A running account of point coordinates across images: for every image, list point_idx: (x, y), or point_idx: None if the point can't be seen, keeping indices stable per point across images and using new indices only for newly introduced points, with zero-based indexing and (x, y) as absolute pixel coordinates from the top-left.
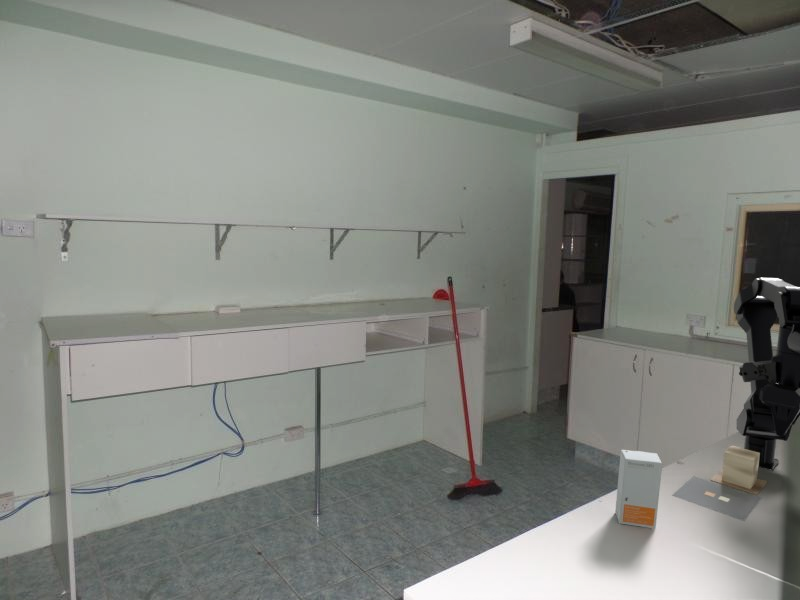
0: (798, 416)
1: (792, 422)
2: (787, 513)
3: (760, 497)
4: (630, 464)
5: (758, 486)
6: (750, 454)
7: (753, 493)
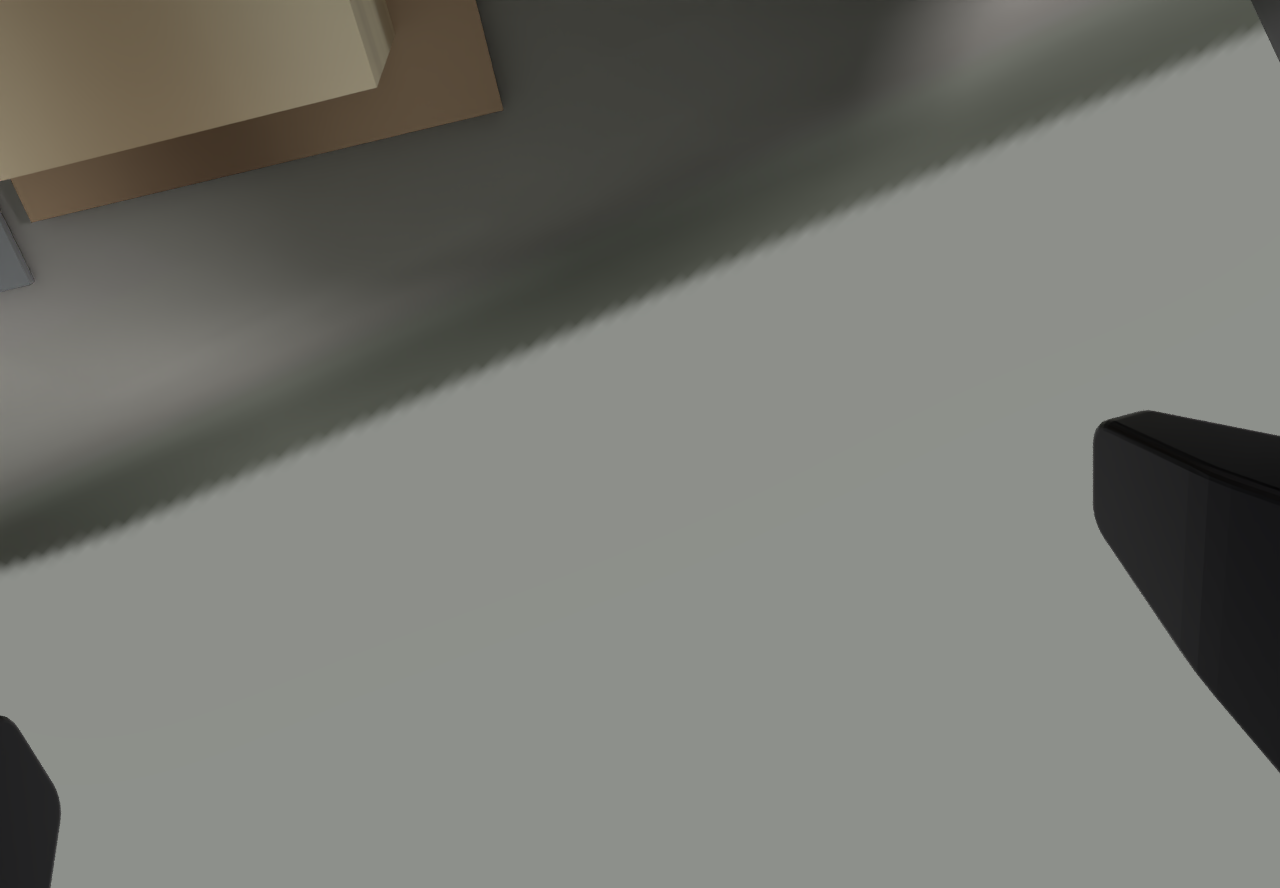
0: (1246, 721)
1: (1118, 530)
2: (6, 533)
3: (24, 267)
4: None
5: (262, 124)
6: (129, 35)
7: (20, 187)
